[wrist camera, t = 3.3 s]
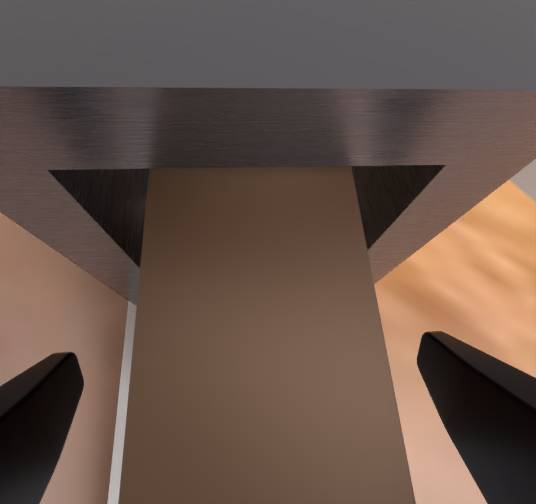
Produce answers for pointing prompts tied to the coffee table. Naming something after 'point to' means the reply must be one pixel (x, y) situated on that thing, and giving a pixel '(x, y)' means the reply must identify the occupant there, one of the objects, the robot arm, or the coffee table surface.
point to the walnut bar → (259, 346)
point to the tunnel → (259, 110)
